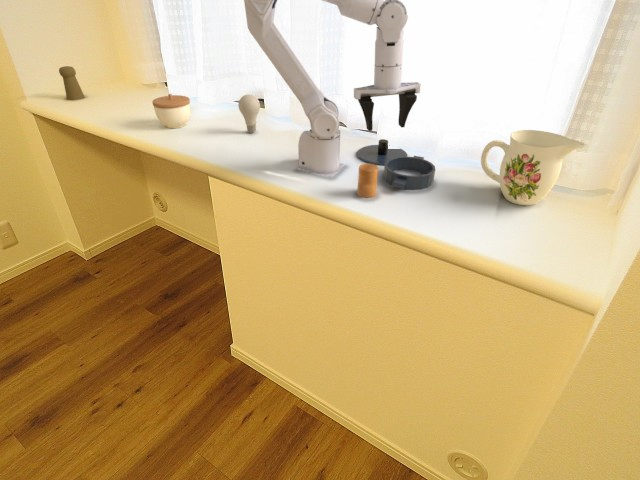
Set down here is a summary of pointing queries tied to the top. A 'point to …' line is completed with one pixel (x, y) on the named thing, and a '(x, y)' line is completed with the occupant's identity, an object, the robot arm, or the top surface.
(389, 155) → the lid
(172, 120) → the trinket box
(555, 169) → the pitcher
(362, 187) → the peg
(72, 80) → the grey-brown tapered knobbed cylinder
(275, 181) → the top surface
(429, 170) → the pot
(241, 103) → the lightbulb
